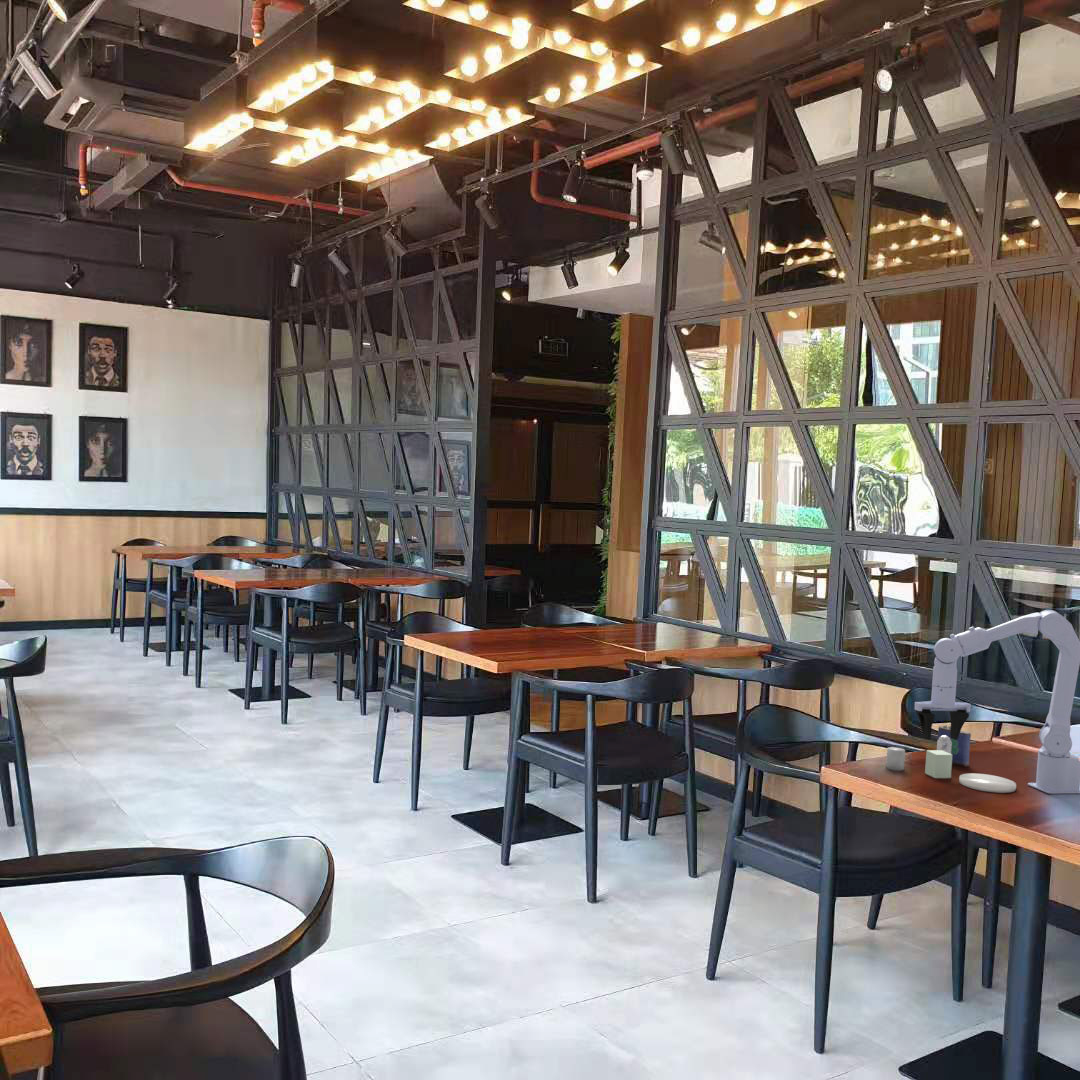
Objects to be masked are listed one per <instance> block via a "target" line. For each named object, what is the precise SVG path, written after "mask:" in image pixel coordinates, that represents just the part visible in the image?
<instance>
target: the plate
mask: <svg viewBox="0 0 1080 1080" xmlns="http://www.w3.org/2000/svg"><path fill="white" fill-rule="evenodd" d="M958 782H959V784H961V785H962V786H964V787H967V788H969V789H972V790H977V791H981V792H988V793H999V794H1007V793H1008V794H1009V793H1013V792H1015V791H1016V790H1017V783H1016V782H1015V781H1013V780H1011V779H1008V778H1006V777H1002V776H997V775H992V774H986V773H973V772H971V773H963V774H960V775H959V779H958Z"/></svg>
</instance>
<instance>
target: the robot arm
mask: <svg viewBox="0 0 1080 1080" xmlns="http://www.w3.org/2000/svg"><path fill="white" fill-rule="evenodd" d="M1039 632H1040V633H1041V634H1042V635H1043V636H1044V637H1045V638H1047V639H1048V640H1050V641H1051V642H1052V643H1053V644H1054V645H1055V646H1056V647H1057V649H1058V650H1059V654H1058V658H1057V659H1058V660H1057V664H1056V668H1055V669H1056V670H1055V676H1054V682H1053V687H1052V693H1051V699H1050V704H1049V711H1048V714H1047V716H1046V719H1045V723H1044V725H1043V726H1042V727H1041V729H1040V730H1039V734H1038V735H1039V736H1038V737H1039V741H1040V742H1041V744H1042V745H1041V747H1040V748H1039V749H1038V750H1037V752H1038V753H1037V762H1036V763H1037V765H1036V778H1035V779H1036V780H1035V782H1028V783H1027V785H1028V786H1030V787H1032V788H1035V789H1036V790H1039V791H1041V792H1043V793H1046V794H1053V795H1054V794H1055V795H1056V794H1080V759H1079V757H1077V756H1076V754H1072V753H1071V752H1070V751H1071V750H1072V747H1073V741H1072V738H1071V716H1072V710H1073V705H1074V698H1075V691H1076V686H1077V681H1078V675H1079V671H1080V639H1079V637H1078V635H1077V633H1076V631H1075V630H1074V627H1073V625H1072V623H1071V622H1070V621H1069V620H1067V618H1066V617H1064V616H1063V615H1061V614H1060V613H1059V612H1057V611H1056V610H1053V609H1044V610H1042V611H1040V612H1033V613H1029V614H1026V615H1025V614H1024V615H1022V616H1019V617H1017V618H1014V619H1012V620H1008V621H1006V622H1004V623H1001V624H999V625H996V626H993V627H991V628H987V629H985V628H982V627H975V626H971V627H969V628H968V630H966V631H964V632H963V631H962V632H960V633H957V634H954V633H952V634H950V635H949V637H950V638H948V637H945V638H944V637H943V638H940V639H938V640H937V642H935V644H934V647H933V653H934V655H935V658H934V660H933V664H934V666H933V667H932V669H933V670H932V680H931V683H932V684H931V697H930V700H928V701H915V702H914V710H915V714H916V716H917V718H918V720H919V723H920V726H921V730H922V738H923V739H925V740H930V741H931V737H932V727H933V722H934V718H935V713H932V711H935V712H937V711H939V712H940V711H942V712H943V711H944V712H949V717H950V726H951V731H950V736H951V738H952V739H954V740H957V739H958V736H959V733H960V731H962V728H963V727H964V724H965V723H966V721H967V720H968V719H969V716H970V712H971V709H972V708H971V706H972V704H971V703H968V702H961V701H960V702H958V701H956V694H957V683H958V682H957V678H958V668H957V666H958V665H957V664H958V659H959V658H960V657H963V658H964V657H967V656H969V655H972V654H976V653H979V652H982V651H985V650H988V649H989V647H990V645H991V643H992V642H995V641H999V640H1002V639H1006V638H1008V637H1011V636H1015V635H1018V634H1021V633H1022V634H1023V633H1028V634H1033V635H1039ZM968 712H969V713H968Z"/></svg>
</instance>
